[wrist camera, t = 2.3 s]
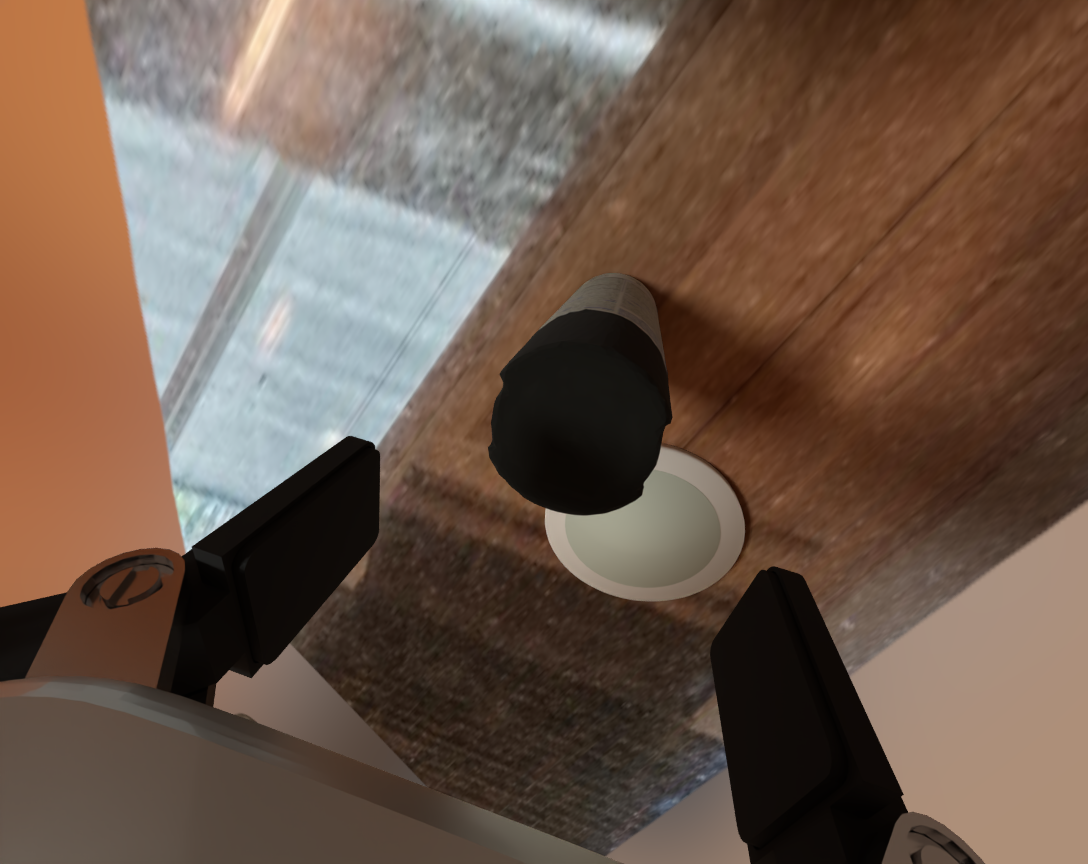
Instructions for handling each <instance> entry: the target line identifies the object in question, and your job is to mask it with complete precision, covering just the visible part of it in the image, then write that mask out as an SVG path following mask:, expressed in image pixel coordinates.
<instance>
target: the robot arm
mask: <svg viewBox="0 0 1088 864" xmlns="http://www.w3.org/2000/svg"><path fill="white" fill-rule="evenodd" d="M379 498H380V453H379V451H378V450H375V445H374V444H373V443H372V442H369V441H366V440H363V439H360V438H356V437H353V436H348V437H346V438H344V439H343V440H341V441H340V442H339V443H337V444H336V445H334V446H333V447H332V448H330V449H329V450H327V451H326V452H325V453H323V454H322V455H320V456H319V457H317V458H316V459H315V460H313V461H312V462H310V463H309V464H308V465H306V466H305V467H303V468H302V469H301V470H299V471H298V472H296V473H295V474H294V475H292V476H291V477H289V478H288V479H286V480H285V481H284V482H282V483H281V484H279V485H278V486H277V487H275V488H274V489H272V490H271V491H270V492H268V493H267V494H265V495H264V496H263V497H261V498H260V499H258V500H257V501H255V502H254V503H253V504H251V505H250V506H248V507H247V508H246V509H244V510H243V511H241V512H240V513H239V514H237V515H236V516H234V517H233V518H232V519H230V520H229V521H227V522H226V523H224V524H223V525H222V526H220V527H219V528H217V529H216V530H215V531H213V532H212V533H210V534H209V535H208V536H206V537H205V538H203V539H202V540H201V541H199V542H198V543H196V544H195V545H193V546H192V549H191V550H190V551H189V552H187V553H186V554H185V555H183V556H182V557H181V556H180V555H179V554H178V553H176V552H174V551H172V550H169V549H161V548H148V549H139V550H135V551H130V552H126V553H122V554H120V555H117V556H114V557H112V558H109V559H107V560H105V561H103V562H101V563H99V564H97V565H96V566H94V567H92V568H90V569H89V570H88V571H86V572H85V573H84V574H83V575H81V576H80V577H79V578H78V579H76V581H75V582H74V583H73V585H72V586H71V587H70V589H69V590H68V592H67V593H63V594H58V595H54V596H49V597H45V598H40V599H36V600H31V601H27V602H22V603H18V604H13V605H9V606H5V607H0V864H623V863H620V862H617V861H615V860H613V859H610V858H607V857H605V856H602V855H600V854H597V853H595V852H592V851H590V850H587V849H584V848H582V847H579V846H577V845H574V844H572V843H569V842H567V841H564V840H562V839H559V838H556V837H554V836H551V835H549V834H546V833H543V832H541V831H538V830H536V829H533V828H531V827H528V826H525V825H523V824H520V823H518V822H515V821H512V820H510V819H507V818H505V817H502V816H500V815H497V814H494V813H492V812H489V811H487V810H484V809H481V808H479V807H476V806H474V805H471V804H468V803H466V802H463V801H461V800H458V799H456V798H453V797H450V796H448V795H445V794H443V793H440V792H437V791H435V790H432V789H430V788H427V787H424V786H422V785H419V784H417V783H414V782H411V781H409V780H406V779H404V778H401V777H398V776H396V775H393V774H390V773H388V772H385V771H383V770H380V769H377V768H375V767H372V766H370V765H367V764H364V763H362V762H359V761H356V760H354V759H351V758H349V757H346V756H343V755H341V754H338V753H335V752H333V751H330V750H327V749H325V748H322V747H320V746H317V745H314V744H312V743H309V742H306V741H304V740H301V739H299V738H296V737H293V736H291V735H288V734H285V733H283V732H280V731H277V730H275V729H272V728H270V727H267V726H264V725H261V724H259V723H256V722H253V721H250V720H248V719H245V718H242V717H239V716H236V715H233V714H231V713H228V712H225V711H222V710H219V709H217V708H214V707H213V704H214V697H215V689H216V683H217V682H218V681H219V680H220V679H221V678H222V677H223V676H224V675H225V674H226V673H227V671H228V670H231V671H233V672H236V673H239V674H241V675H244V676H247V677H249V678H252V677H253V676H254V675H255V673H256V672H257V671H258V670H259V669H260V668H261V667H262V665H263V664H265V665H268V664H271V663H272V662H273V661H274V660H276V659H277V657H278V656H279V655H280V654H281V653H282V652H283V650H284V649H285V648H286V647H287V646H288V644H289V643H290V642H291V641H292V640H293V639H294V638H295V636H296V635H297V634H298V633H299V632H300V630H301V629H302V628H303V627H304V626H305V625H306V623H307V622H308V621H309V620H310V619H311V617H312V616H313V615H314V614H315V613H316V612H317V610H318V609H319V608H320V607H321V606H322V604H323V603H324V602H325V601H326V600H327V599H328V597H329V596H330V595H331V594H332V593H333V591H334V590H335V589H336V588H337V587H338V586H339V584H340V583H341V582H342V581H343V580H344V579H345V577H346V576H347V575H348V574H349V573H350V571H351V570H352V569H353V568H354V567H355V566H356V564H357V563H358V562H359V561H360V560H361V558H362V557H363V556H364V555H365V554H366V553H367V551H368V550H369V549H370V548H371V547H372V545H373V544H374V543H375V541H376V539H377V537H378V533H379ZM710 656H711V664H712V670H713V676H714V683H715V689H716V695H717V702H718V708H719V714H720V721H721V727H722V733H723V740H724V746H725V753H726V759H727V765H728V771H729V778H730V784H731V791H732V797H733V803H734V809H735V816H736V822H737V827H738V832H739V835H740V837H741V839H742V841H743V842H745V843H747V845H748V851H749V857H750V863H751V864H985V863H984V862H983V861H982V859H981V858H980V857H979V856H978V855H977V854H976V853H975V852H974V851H973V850H972V849H971V848H970V847H969V846H968V845H967V844H966V843H965V842H964V841H963V840H962V839H961V838H960V837H959V836H957V835H956V834H955V833H953V832H952V831H951V830H950V829H948V828H947V827H946V826H945V825H943V824H941V823H940V822H937V821H936V820H934V819H932V818H931V817H928V816H927V815H923V814H919V813H915V812H910V813H908V811H907V809H906V807H905V804H904V802H903V800H902V798H901V796H902V795H904V794H903V792H902V790H901V788H900V786H899V783H898V781H897V779H896V777H895V775H894V773H893V770H892V768H891V766H890V764H889V762H888V760H887V757H886V755H885V753H884V751H883V749H882V746H881V744H880V742H879V740H878V738H877V736H876V733H875V731H874V729H873V727H872V725H871V723H870V720H869V718H868V716H867V714H866V712H865V709H864V707H863V705H862V703H861V701H860V699H859V697H858V694H857V692H856V690H855V688H854V686H853V684H852V681H851V679H850V677H849V675H848V672H847V670H846V668H845V666H844V664H843V662H842V659H841V657H840V655H839V653H838V651H837V649H836V646H835V644H834V642H833V640H832V638H831V635H830V633H829V631H828V629H827V627H826V625H825V622H824V620H823V618H822V616H821V614H820V612H819V609H818V607H817V605H816V603H815V601H814V598H813V596H812V594H811V592H810V590H809V588H808V585H807V583H806V581H805V579H804V578H803V576H801V575H800V574H798V573H794V572H791V571H788V570H785V569H781V568H778V567H773V566H772V567H770V568H769V569H768V570H767V571H766V570H761V571H760V572H759V573H758V574H757V575H756V577H755V578H754V580H753V582H752V583H751V585H750V586H749V588H748V589H747V591H746V592H745V594H744V595H743V597H742V598H741V600H740V601H739V603H738V604H737V606H736V607H735V609H734V610H733V612H732V613H731V615H730V616H729V618H728V619H727V621H726V622H725V624H724V625H723V627H722V628H721V630H720V631H719V633H718V634H717V636H716V637H715V639H714V640H713V642H712V645H711V651H710Z"/></svg>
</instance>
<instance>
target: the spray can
mask: <svg viewBox="0 0 1088 864" xmlns="http://www.w3.org/2000/svg"><path fill="white" fill-rule="evenodd" d="M500 376H501V378H502V380H503V388H502V390H501V392H500V393H499V395H498V396H497V398H496V400H495V403H494V408H493V414H492V420H491V427H492V443H491V445H490V446H489V447H488V451H489V458H490V459H491V461H492V463H493V464H494V466H495V468H496V470H497V472H498V473H499V475H500V476H501V477H503V478H504V479H505V480H506V481H507V482H508V484H509V485H510V486H511V487H512V488H513V489H515V490H516V491H517V492H518V493H520V494H521V495H522V496H523V497H524V498H526V499H527V500H529V501H531V502H533V503H534V504H537V505H539V506H542V507H544V508H547V509H549V510H552V511H556V512H560V513H565V514H571V515H580V516H589V515H597V514H605V513H608V512H611V511H615V510H618V509H620V508H622V507H624V506H626V505H628V504H630V503H632V502H634V501H636V500H637V499H638V498H639V497H641V496H642V494H643V489H644V482H645V481H646V479H647V478H648V477H649V476H650V474H651V473H652V471H653V470H654V468H655V466H656V465H657V461H658V458H659V454H660V449H661V442H662V437H663V431H664V429H665V426H666V425H668V424H670V423H671V420H672V411H671V403H670V394H669V386H668V372H667V368H666V362H665V356H664V350H663V343H662V338H661V332H660V326H659V320H658V313H657V308H656V304H655V301H654V299H653V297H652V295H651V293H650V292H649V290H648V289H647V288H646V287H645V286H644V285H643V284H642V283H641V282H640V281H638V280H636V279H635V278H633V277H631V276H628V275H624V274H619V273H608V274H603V275H600V276H596V277H594V278H592V279H591V280H589V281H587V282H586V283H585V284H583V285H582V286H581V287H580V288H579V289H578V290H577V291H576V292H575V293H574V294H573V295H572V296H571V297H570V298H569V299H568V300H567V302H566V303H565V304H564V305H562V307H561V308H560V309H559V310H558V311H557V312H556V313H555V314H554V315H553V316H552V317H551V318H550V319H549V320H548V321H547V322H546V323H545V324H544V325H543V326H542V327H541V328H540V329H539V330H538V331H537V332H536V333H535V334H534V335H533V336H532V338H531V339H530V340H529V341H528V342H527V343H526V345H525V346H524V347H523V348H522V349H521V350H520V351H519V352H518V353H517V354H516V355H515V356H514V357H513V358H512V359H511V360H510V361H509V363H508V364H507V365H506V366H505V367H504V368H503V370H502V371H501V373H500Z"/></svg>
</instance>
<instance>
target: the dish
mask: <svg viewBox="0 0 1088 864" xmlns="http://www.w3.org/2000/svg"><path fill="white" fill-rule="evenodd" d="M545 526H546V533H547V536H548V539H549V542H550V544H551V547H552V549H553V551H554V552H555V554H556V555H557V557H558V558H559V560H560V561H561V562H562V563H563V564H564V566H565V567H566V568H567V569H568V570H569V571H570V572H572V573H573V574H574V575H575V576H576V577H578V578H579V579H580V580H582V581H583V582H585V583H587V584H588V585H590V586H592V587H594V588H596V589H598V590H600V591H602V592H605V593H608V594H611V595H614V596H617V597H621V598H626V599H631V600H639V601H665V600H672V599H678V598H682V597H686V596H689V595H692V594H695V593H697V592H699V591H702V590H704V589H706V588H707V587H709V586H711V585H713V584H714V583H715V582H717V581H718V580H719V579H721V578H722V577H723V576H724V575H725V574H726V573H727V572H728V571H729V570H730V569H731V567H732V566H733V565H734V563H735V562H736V560H737V558H738V556H739V554H740V552H741V549H742V546H743V543H744V536H745V522H744V517H743V513H742V509H741V506H740V504H739V501H738V499H737V496H736V494H735V492H734V490H733V488H732V487H731V485H730V484H729V482H728V481H727V480H726V479H725V477H724V476H723V475H722V474H721V473H720V472H719V471H718V470H717V469H716V468H714V467H713V466H712V465H711V464H710V463H708V462H707V461H705V460H704V459H702V458H700V457H699V456H697V455H695V454H693V453H691V452H689V451H687V450H684V449H681V448H678V447H675V446H672V445H667V444H663V443H661V449H660V454H659V458H658V461H657V465H656V466H655V468H654V470H653V471H652V473H651V474H650V476H649V477H648V478H647V479H646V481H645V482H644V489H643V494H642V496H641V497H639V498H638V499H637V500H636V501H634V502H632V503H630V504H628V505H626V506H624V507H622V508H620V509H618V510H615V511H611V512H608V513H605V514H597V515H589V516H580V515H571V514H565V513H560V512H556V511H552V510H549V509H547V508H546V512H545Z"/></svg>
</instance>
